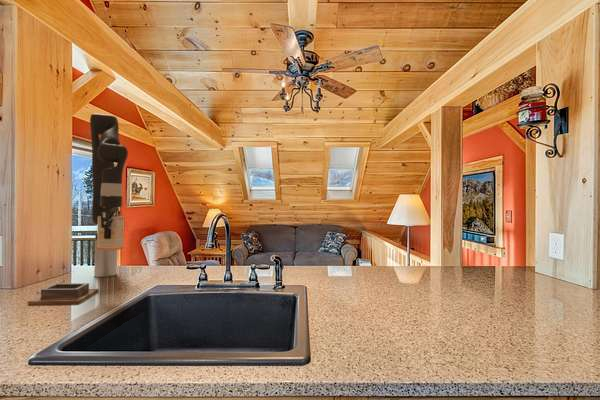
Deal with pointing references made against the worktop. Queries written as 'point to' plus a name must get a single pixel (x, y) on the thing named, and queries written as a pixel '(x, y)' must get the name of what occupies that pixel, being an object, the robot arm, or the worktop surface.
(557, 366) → the worktop surface
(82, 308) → the worktop surface
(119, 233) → the supplement box
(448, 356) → the worktop surface
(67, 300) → the slot holder
